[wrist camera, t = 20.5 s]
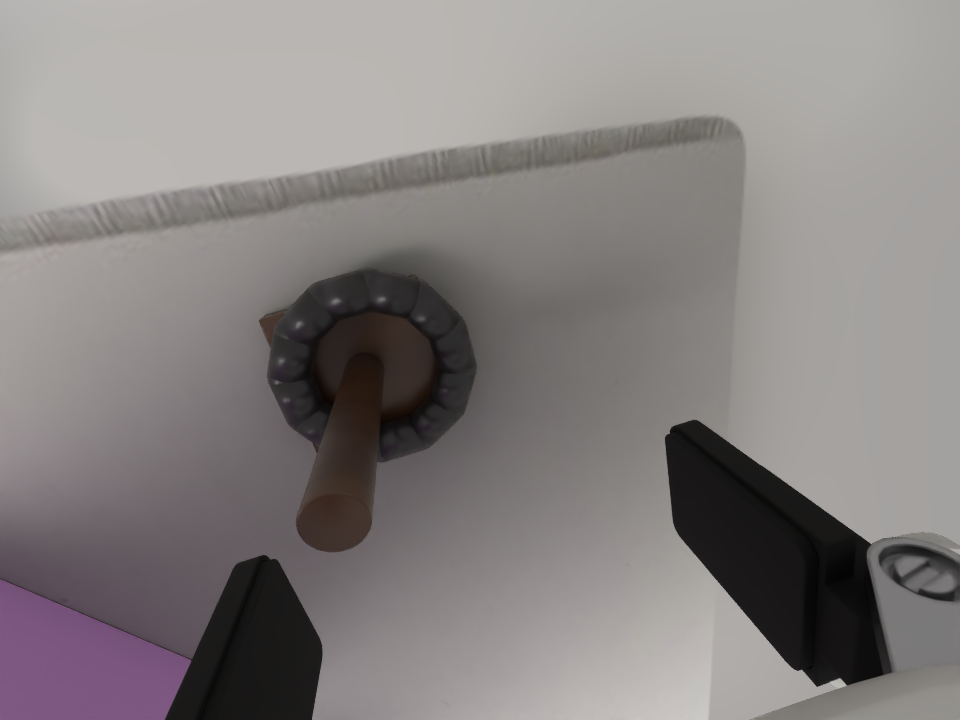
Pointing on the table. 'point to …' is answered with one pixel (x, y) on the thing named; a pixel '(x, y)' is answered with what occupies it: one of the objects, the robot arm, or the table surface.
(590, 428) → the table surface
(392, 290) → the ring
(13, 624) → the purple table lamp
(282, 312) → the stand
